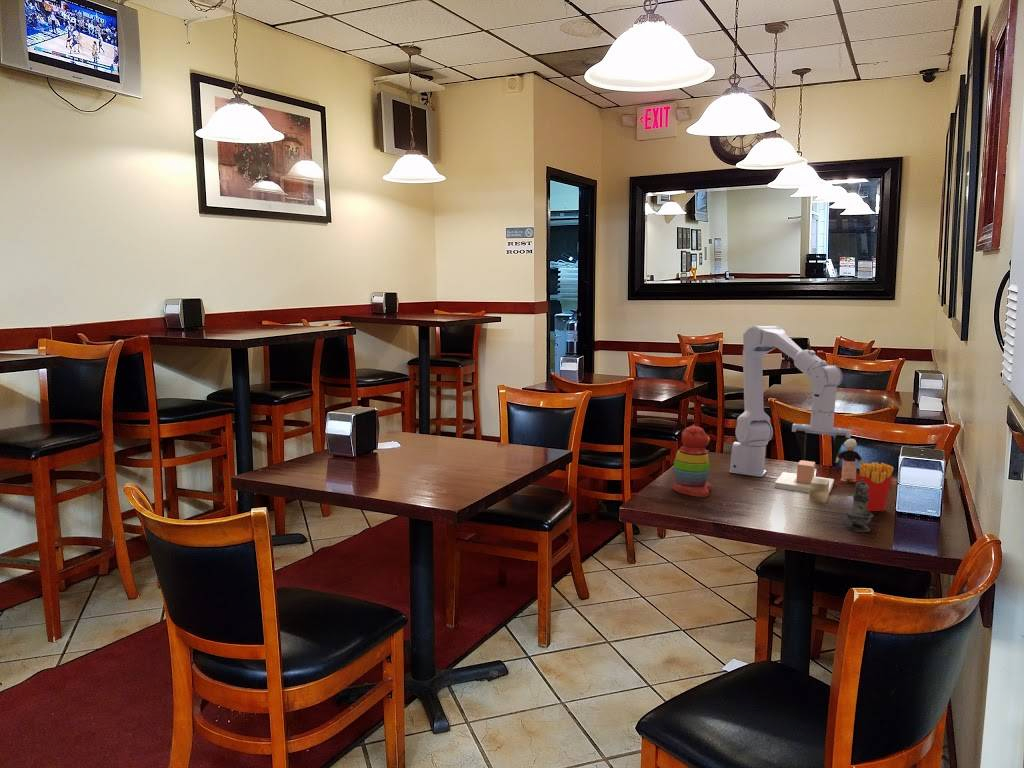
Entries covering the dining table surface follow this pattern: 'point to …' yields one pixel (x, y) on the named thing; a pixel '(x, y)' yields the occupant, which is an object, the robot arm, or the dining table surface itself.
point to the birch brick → (819, 490)
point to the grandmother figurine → (849, 461)
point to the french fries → (876, 484)
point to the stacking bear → (692, 463)
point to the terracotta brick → (805, 471)
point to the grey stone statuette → (859, 509)
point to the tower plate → (796, 483)
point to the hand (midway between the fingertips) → (818, 460)
